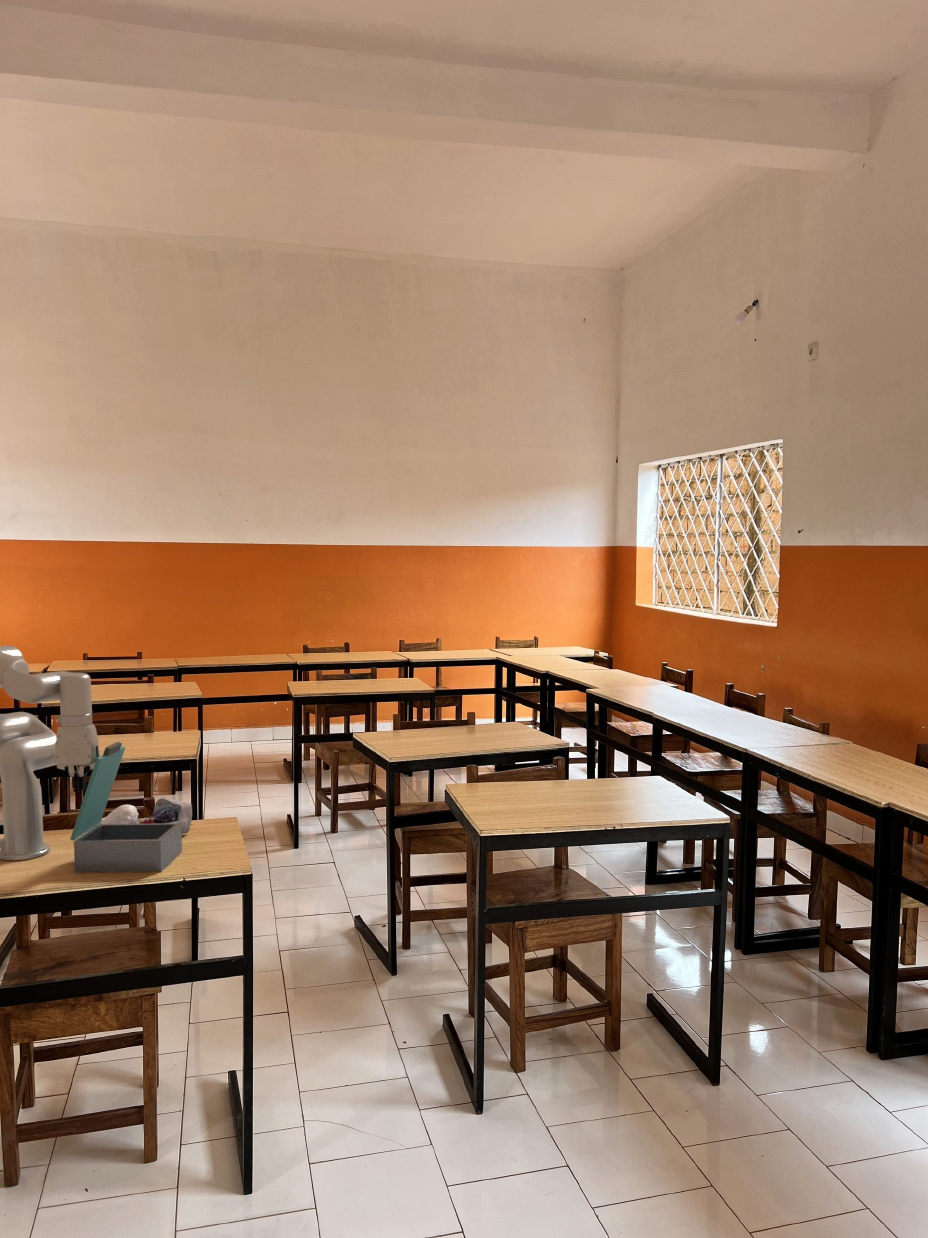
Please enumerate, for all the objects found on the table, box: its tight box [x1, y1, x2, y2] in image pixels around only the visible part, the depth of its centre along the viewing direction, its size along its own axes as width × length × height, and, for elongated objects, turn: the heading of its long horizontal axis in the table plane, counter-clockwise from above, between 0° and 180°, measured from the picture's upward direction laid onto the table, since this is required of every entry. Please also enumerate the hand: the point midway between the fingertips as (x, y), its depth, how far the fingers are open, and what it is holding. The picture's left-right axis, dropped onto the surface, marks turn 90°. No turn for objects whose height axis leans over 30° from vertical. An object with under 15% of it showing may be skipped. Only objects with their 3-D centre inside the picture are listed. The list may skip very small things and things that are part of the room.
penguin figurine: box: [96, 804, 139, 827], centre depth 263 cm, size 6×8×12 cm
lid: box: [69, 741, 126, 842], centre depth 235 cm, size 24×16×1 cm
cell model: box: [119, 797, 193, 835], centre depth 255 cm, size 13×11×20 cm
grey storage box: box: [73, 823, 183, 874], centre depth 236 cm, size 22×16×8 cm
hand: (79, 790), depth 236 cm, fingers closed
